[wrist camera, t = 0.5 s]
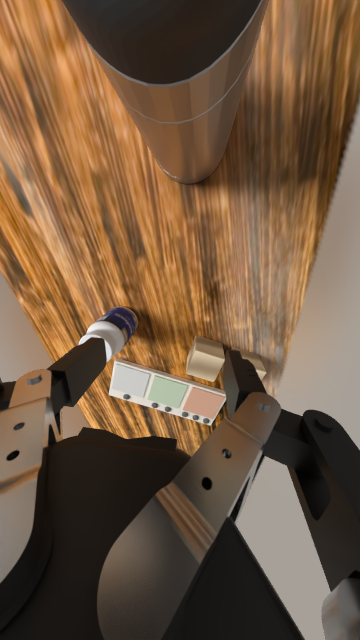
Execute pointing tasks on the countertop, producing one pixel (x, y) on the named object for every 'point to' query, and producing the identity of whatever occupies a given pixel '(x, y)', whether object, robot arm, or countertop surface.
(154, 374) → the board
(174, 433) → the countertop surface
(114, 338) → the pill bottle
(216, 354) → the maple block
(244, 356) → the maple block
